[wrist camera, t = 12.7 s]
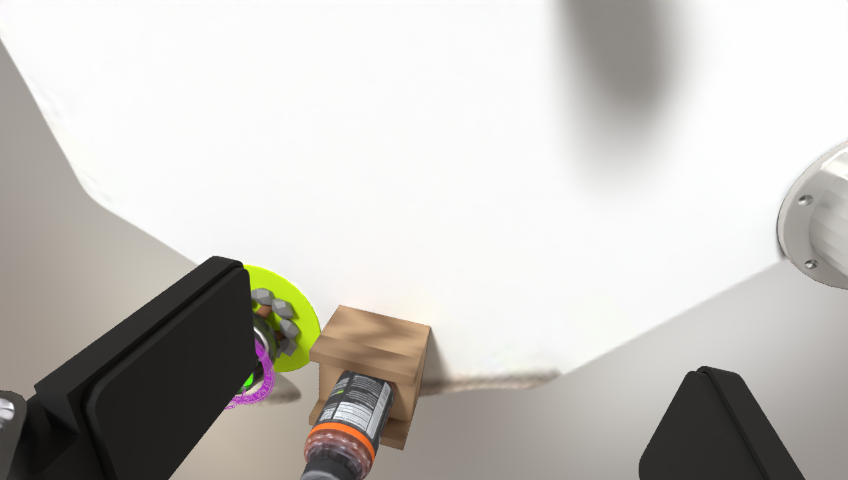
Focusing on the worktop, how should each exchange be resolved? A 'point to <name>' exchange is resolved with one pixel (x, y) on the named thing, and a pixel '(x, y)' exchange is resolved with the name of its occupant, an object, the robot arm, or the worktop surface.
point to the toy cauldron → (277, 329)
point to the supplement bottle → (349, 428)
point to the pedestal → (373, 361)
